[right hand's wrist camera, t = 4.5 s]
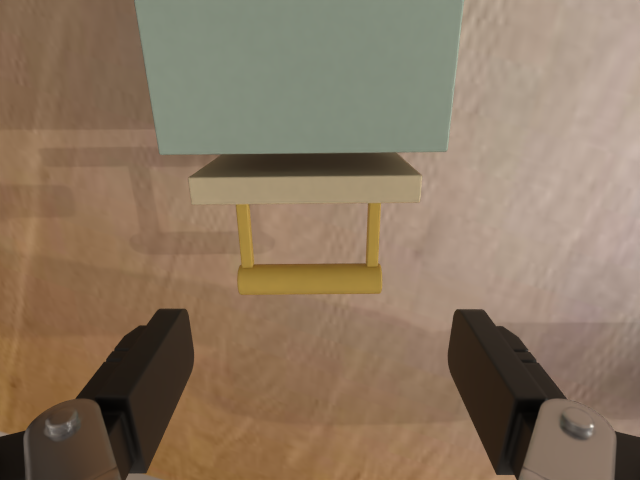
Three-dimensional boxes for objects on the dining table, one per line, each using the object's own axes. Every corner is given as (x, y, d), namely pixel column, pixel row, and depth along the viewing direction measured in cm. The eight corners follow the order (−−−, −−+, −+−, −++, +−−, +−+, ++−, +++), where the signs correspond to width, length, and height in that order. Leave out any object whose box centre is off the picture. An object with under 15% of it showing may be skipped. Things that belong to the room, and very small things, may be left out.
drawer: (385, 260, 26) (409, 324, 19) (238, 261, 26) (208, 326, 19) (411, -196, 17) (472, -386, 10) (194, -192, 17) (109, -379, 10)
